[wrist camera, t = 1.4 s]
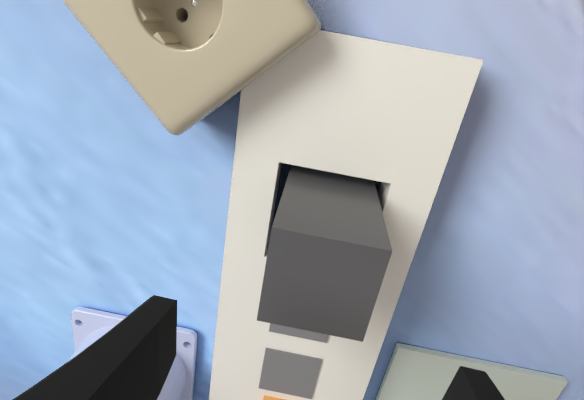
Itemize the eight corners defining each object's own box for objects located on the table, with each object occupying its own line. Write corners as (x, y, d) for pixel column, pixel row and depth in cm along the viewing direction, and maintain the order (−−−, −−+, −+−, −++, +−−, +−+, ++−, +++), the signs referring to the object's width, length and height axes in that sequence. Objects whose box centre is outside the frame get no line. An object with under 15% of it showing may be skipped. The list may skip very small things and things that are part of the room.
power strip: (349, 404, 25) (351, 443, 23) (217, 377, 26) (205, 412, 23) (466, 56, 16) (489, 61, 14) (258, 18, 16) (245, 16, 14)
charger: (354, 244, 20) (362, 341, 14) (280, 230, 20) (256, 320, 14) (372, 175, 19) (392, 251, 12) (292, 160, 19) (271, 227, 12)
